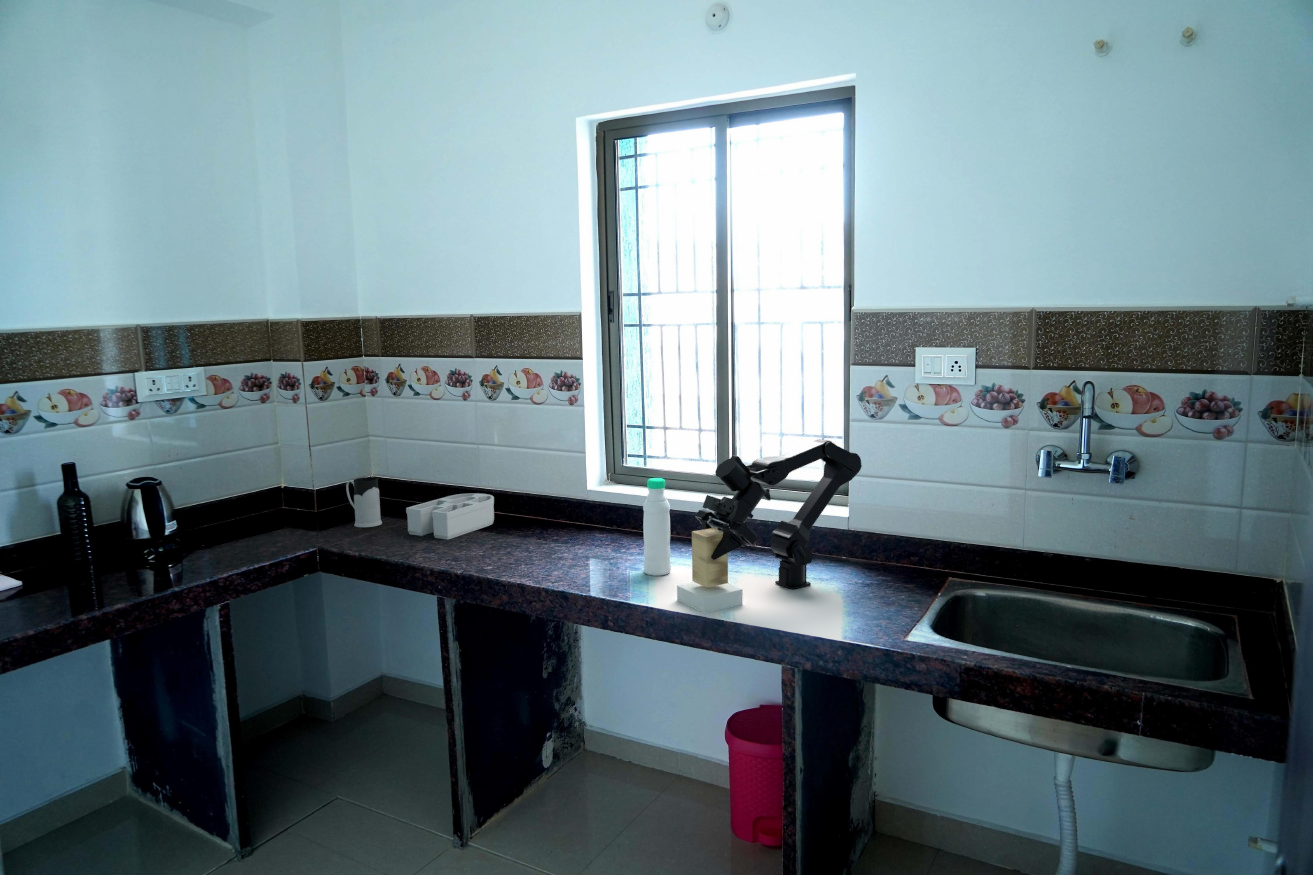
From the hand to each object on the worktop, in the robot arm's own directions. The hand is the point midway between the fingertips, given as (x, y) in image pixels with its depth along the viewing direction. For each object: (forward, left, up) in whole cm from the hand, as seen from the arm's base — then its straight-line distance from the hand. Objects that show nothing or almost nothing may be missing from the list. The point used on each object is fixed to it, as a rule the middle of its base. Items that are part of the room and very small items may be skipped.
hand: (704, 555), depth 205 cm
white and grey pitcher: (+40, -132, -12) cm, 138 cm away
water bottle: (-5, -27, -12) cm, 30 cm away
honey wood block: (-1, 0, -7) cm, 7 cm away
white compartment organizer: (+17, -107, -12) cm, 109 cm away
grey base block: (-1, 0, -12) cm, 12 cm away
